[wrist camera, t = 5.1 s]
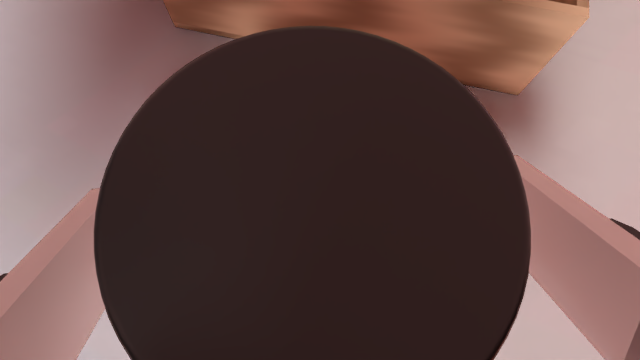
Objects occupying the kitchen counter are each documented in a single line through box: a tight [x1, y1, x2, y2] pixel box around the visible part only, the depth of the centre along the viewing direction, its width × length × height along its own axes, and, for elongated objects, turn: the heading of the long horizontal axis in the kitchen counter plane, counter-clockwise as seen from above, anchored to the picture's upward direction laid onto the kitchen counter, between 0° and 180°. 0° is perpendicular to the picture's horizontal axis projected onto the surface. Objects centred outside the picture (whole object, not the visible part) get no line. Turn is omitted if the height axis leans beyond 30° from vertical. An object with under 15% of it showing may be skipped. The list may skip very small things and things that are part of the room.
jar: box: [94, 26, 531, 360], centre depth 13 cm, size 9×8×12 cm
